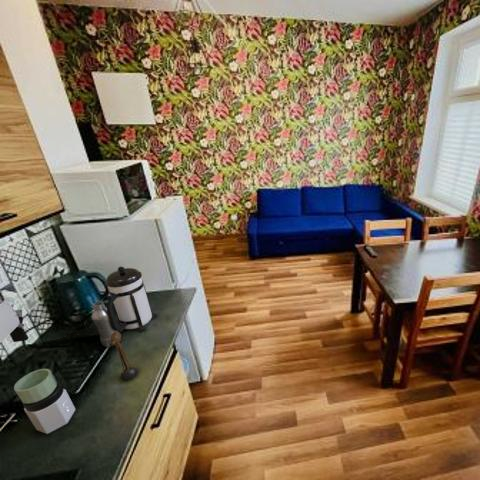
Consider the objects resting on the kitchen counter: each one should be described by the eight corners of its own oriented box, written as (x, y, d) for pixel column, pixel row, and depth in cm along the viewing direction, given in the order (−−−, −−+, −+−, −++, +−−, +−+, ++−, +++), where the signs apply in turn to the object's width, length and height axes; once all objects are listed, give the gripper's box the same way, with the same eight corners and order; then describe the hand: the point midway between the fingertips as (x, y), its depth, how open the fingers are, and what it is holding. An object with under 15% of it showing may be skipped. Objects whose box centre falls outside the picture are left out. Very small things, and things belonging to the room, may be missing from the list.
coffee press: (113, 323, 123) (93, 266, 111) (152, 309, 133) (137, 255, 121) (119, 345, 111) (96, 283, 99) (161, 327, 121) (145, 270, 109)
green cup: (15, 408, 74) (6, 394, 71) (32, 385, 80) (24, 372, 78) (48, 400, 76) (41, 387, 74) (62, 379, 82) (56, 366, 80)
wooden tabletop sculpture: (133, 382, 95) (118, 339, 87) (118, 385, 94) (101, 341, 86) (139, 369, 100) (124, 327, 92) (124, 371, 99) (109, 329, 91)
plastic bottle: (103, 351, 108) (87, 311, 100) (102, 341, 112) (86, 302, 105) (122, 344, 111) (108, 304, 104) (120, 335, 116) (107, 296, 109)
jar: (63, 430, 80) (48, 403, 75) (30, 437, 78) (12, 410, 73) (80, 403, 88) (67, 377, 83) (50, 409, 86) (35, 382, 81)
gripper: (-12, 286, 74) (14, 334, 80) (-73, 327, 59) (-36, 382, 65) (23, 282, 76) (45, 329, 83) (-28, 321, 61) (4, 375, 68)
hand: (9, 352), depth 74 cm, fingers open, 9 cm apart
